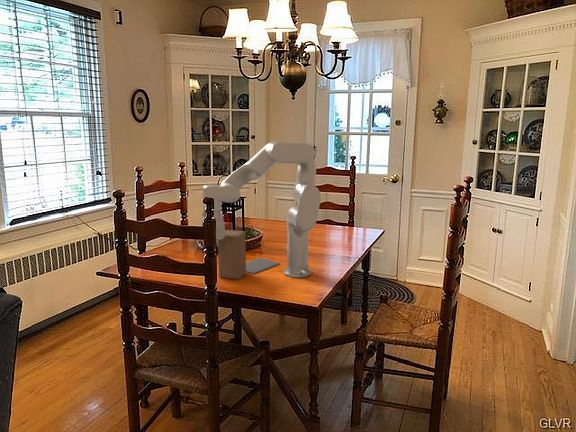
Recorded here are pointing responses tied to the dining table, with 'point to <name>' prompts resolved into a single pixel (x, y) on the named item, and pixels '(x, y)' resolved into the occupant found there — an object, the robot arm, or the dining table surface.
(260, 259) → the mat
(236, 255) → the wooden block
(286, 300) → the dining table surface
